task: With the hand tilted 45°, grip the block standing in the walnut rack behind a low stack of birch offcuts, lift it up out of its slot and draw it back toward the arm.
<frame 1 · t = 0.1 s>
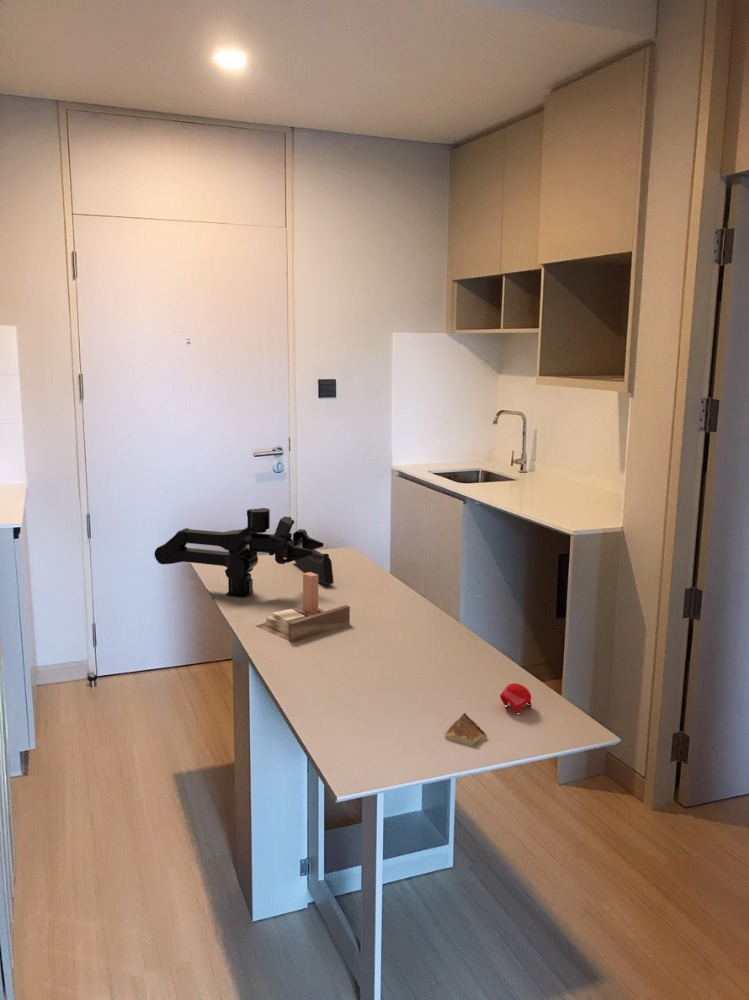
hand: (318, 548, 236), 17 cm above the table, tool horizontal, fingers open, 9 cm apart
block: (310, 619, 222), point 1 cm above the table, touching rack
shard: (460, 735, 162), on the table
red legged dome: (516, 710, 173), on the table
magazine: (311, 575, 267), on the table
rack: (310, 622, 222), on the table
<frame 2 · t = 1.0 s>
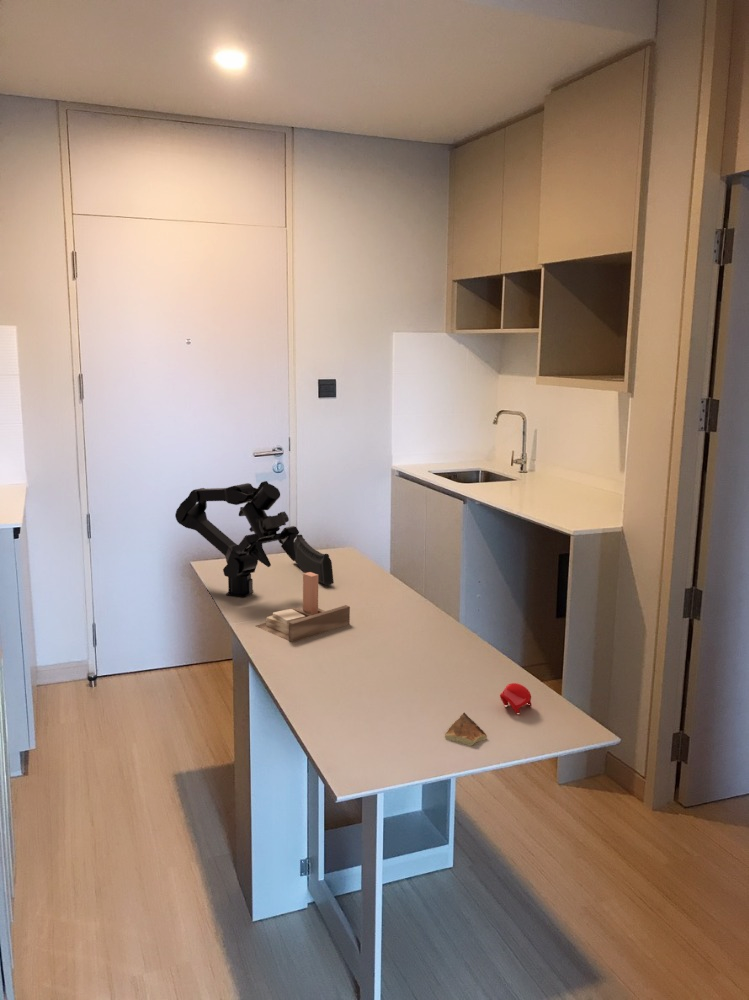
hand: (282, 563, 230), 14 cm above the table, tool tilted 45°, fingers open, 9 cm apart
nothing on the table moved.
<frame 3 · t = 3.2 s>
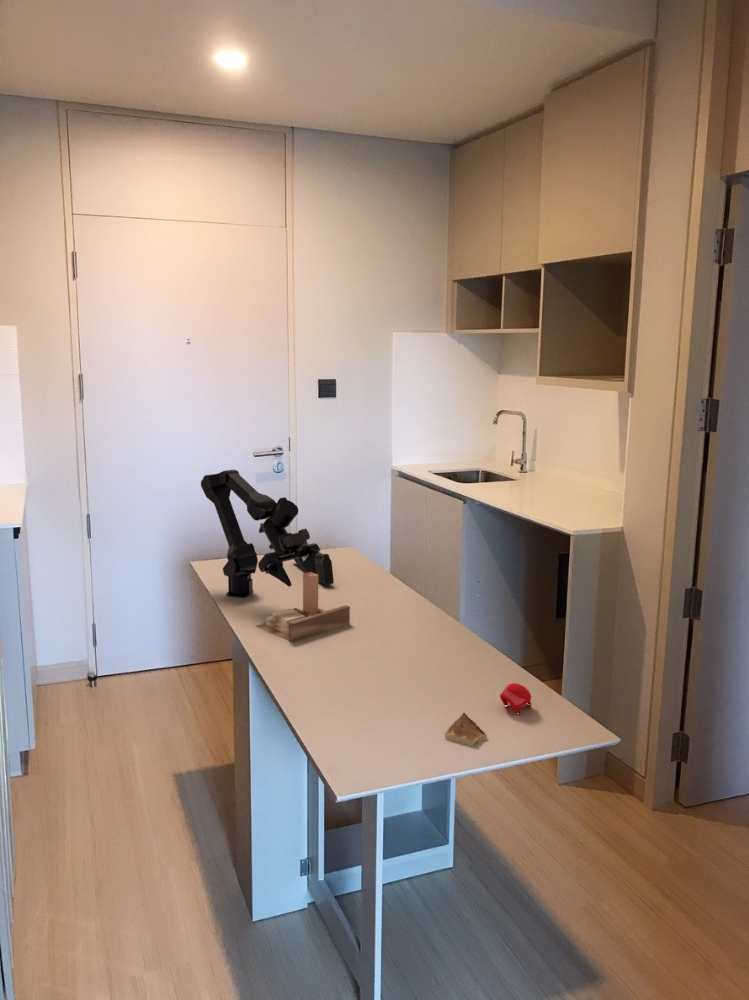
hand: (303, 582, 222), 11 cm above the table, tool tilted 45°, fingers open, 9 cm apart
nothing on the table moved.
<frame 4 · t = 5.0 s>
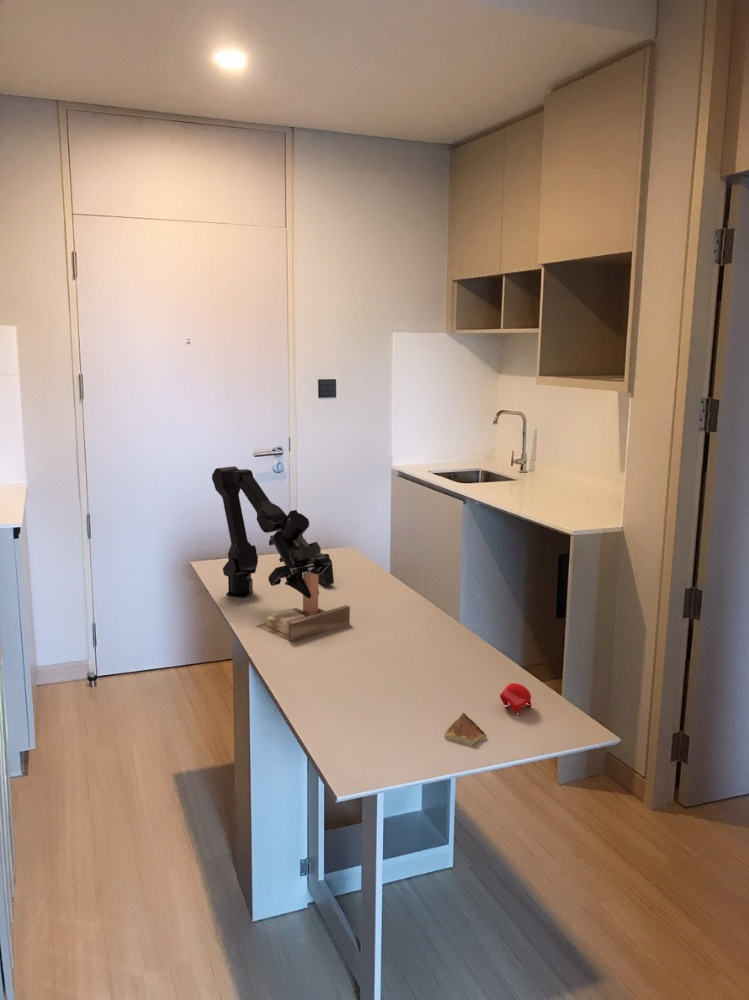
hand: (313, 596, 220), 8 cm above the table, tool tilted 45°, fingers closed on block, 2 cm apart
block: (310, 619, 222), point 1 cm above the table, touching gripper, rack
everything else where it was.
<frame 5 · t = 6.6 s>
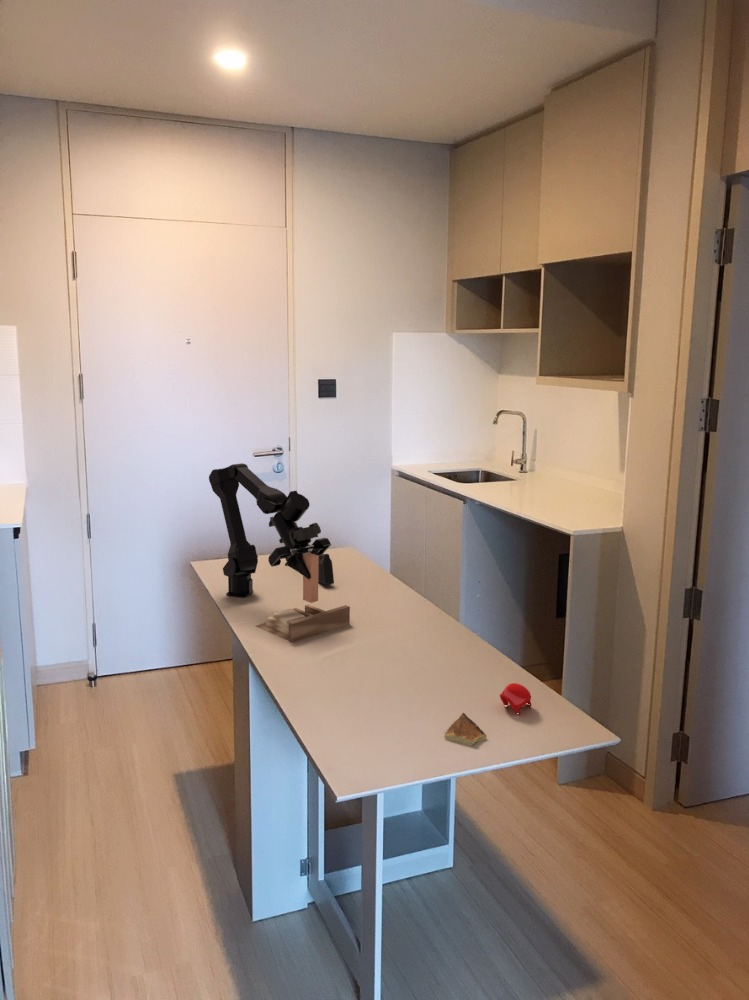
hand: (314, 577, 218), 13 cm above the table, tool tilted 45°, fingers closed on block, 2 cm apart
block: (310, 600, 221), point 6 cm above the table, touching gripper
everything else where it was.
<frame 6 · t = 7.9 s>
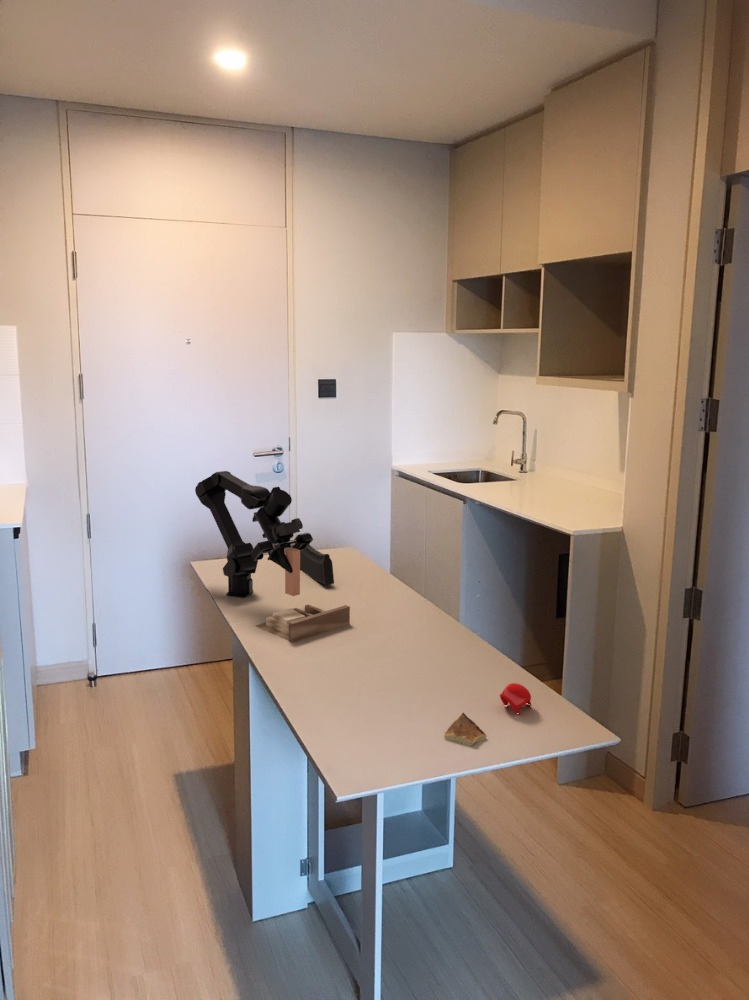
hand: (295, 571, 224), 13 cm above the table, tool tilted 45°, fingers closed on block, 2 cm apart
block: (292, 593, 226), point 6 cm above the table, touching gripper
everything else where it was.
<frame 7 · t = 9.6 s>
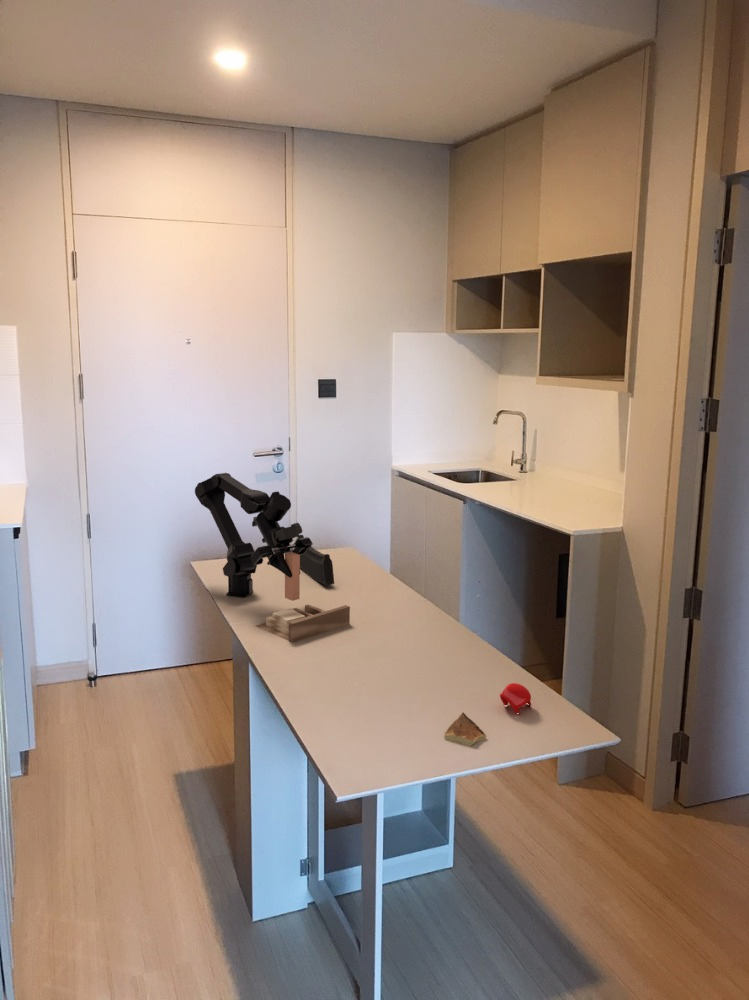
hand: (295, 575, 224), 12 cm above the table, tool tilted 45°, fingers closed on block, 2 cm apart
block: (292, 598, 227), point 5 cm above the table, touching gripper
everything else where it was.
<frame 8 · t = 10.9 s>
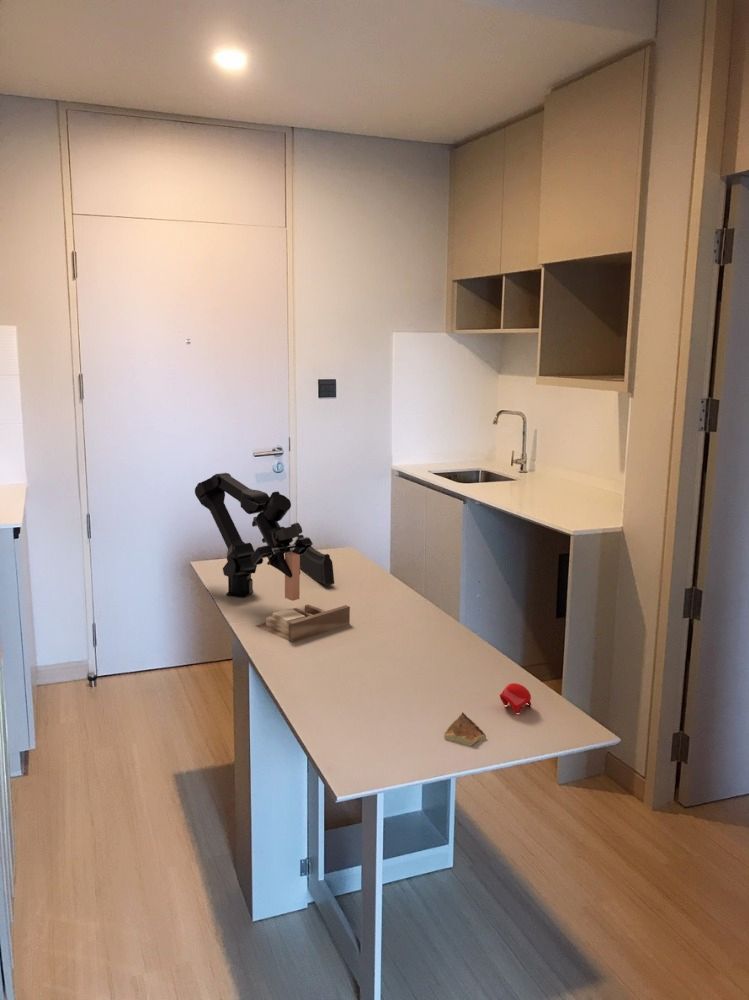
hand: (295, 575, 224), 12 cm above the table, tool tilted 45°, fingers closed on block, 2 cm apart
block: (292, 598, 227), point 5 cm above the table, touching gripper
everything else where it was.
at the end: the gripper is holding block; block inside the target area on the rack (2.2 cm from its centre), point 5.0 cm above the rack's base; block touching gripper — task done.
